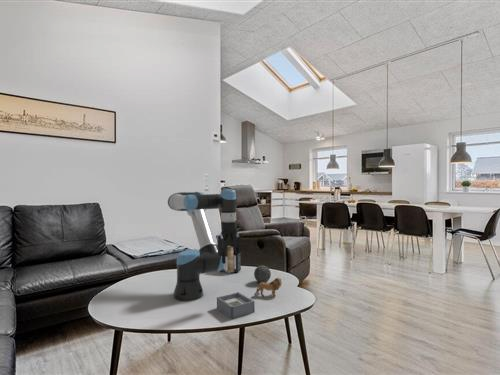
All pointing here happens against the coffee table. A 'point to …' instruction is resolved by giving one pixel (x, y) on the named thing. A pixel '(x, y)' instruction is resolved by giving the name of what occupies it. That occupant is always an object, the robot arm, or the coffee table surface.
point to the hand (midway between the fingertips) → (229, 269)
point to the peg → (230, 259)
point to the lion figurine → (269, 286)
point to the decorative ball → (262, 274)
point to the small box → (238, 264)
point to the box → (235, 305)
